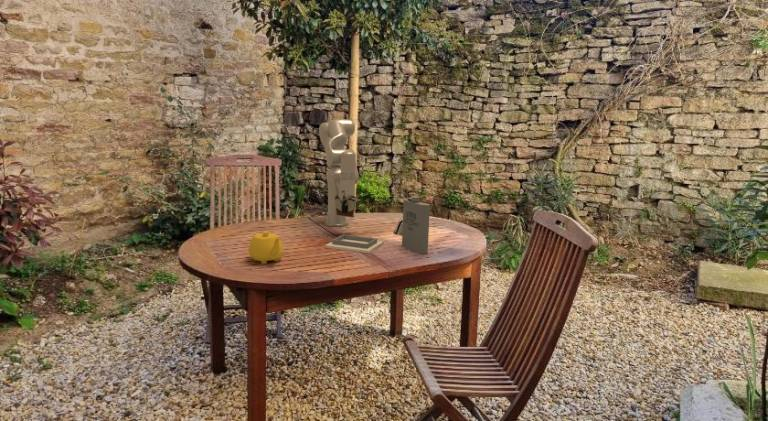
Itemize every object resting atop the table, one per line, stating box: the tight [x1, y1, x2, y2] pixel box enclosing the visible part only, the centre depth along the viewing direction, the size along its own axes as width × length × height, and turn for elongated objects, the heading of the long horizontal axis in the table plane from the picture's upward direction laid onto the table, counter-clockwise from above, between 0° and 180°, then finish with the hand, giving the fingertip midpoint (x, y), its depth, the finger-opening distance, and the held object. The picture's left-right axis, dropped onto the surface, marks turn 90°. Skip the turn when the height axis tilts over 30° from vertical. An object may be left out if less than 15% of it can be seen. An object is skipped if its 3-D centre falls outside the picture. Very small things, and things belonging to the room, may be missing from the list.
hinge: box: [392, 218, 403, 236], centre depth 266 cm, size 17×5×10 cm, turn 126°
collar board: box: [324, 234, 384, 254], centre depth 237 cm, size 22×18×3 cm
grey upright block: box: [401, 195, 431, 255], centre depth 232 cm, size 17×5×25 cm, turn 33°
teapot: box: [247, 230, 285, 265], centre depth 209 cm, size 13×20×12 cm
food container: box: [334, 195, 358, 218], centre depth 255 cm, size 12×6×10 cm, turn 68°
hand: (347, 211), depth 255 cm, fingers closed on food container, 5 cm apart
